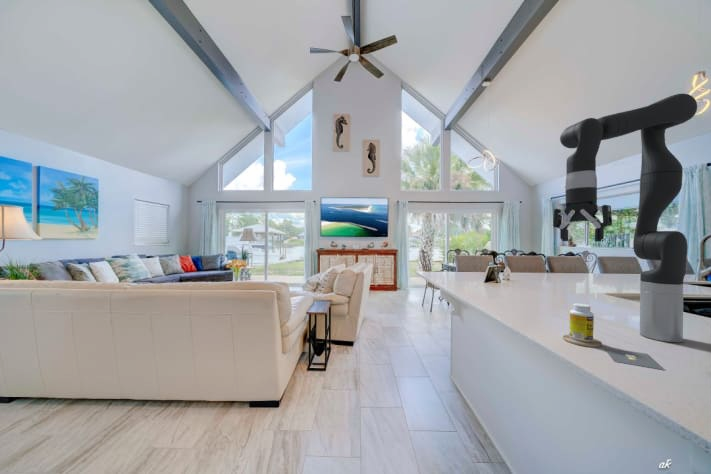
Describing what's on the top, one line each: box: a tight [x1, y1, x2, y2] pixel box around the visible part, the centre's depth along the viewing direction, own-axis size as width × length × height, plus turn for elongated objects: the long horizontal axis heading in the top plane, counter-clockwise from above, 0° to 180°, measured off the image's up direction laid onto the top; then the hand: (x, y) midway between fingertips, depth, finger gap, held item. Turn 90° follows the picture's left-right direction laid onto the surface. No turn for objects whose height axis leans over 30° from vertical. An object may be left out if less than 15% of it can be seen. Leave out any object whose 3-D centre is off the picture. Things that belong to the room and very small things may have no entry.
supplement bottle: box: [569, 303, 595, 342], centre depth 85 cm, size 6×6×10 cm
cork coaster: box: [562, 334, 603, 348], centre depth 85 cm, size 9×9×1 cm
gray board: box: [603, 346, 666, 372], centre depth 74 cm, size 11×9×1 cm
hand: (580, 241), depth 87 cm, fingers open, 8 cm apart
